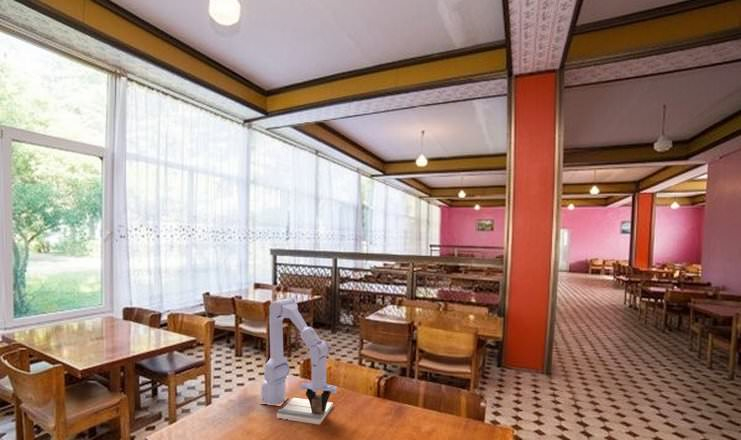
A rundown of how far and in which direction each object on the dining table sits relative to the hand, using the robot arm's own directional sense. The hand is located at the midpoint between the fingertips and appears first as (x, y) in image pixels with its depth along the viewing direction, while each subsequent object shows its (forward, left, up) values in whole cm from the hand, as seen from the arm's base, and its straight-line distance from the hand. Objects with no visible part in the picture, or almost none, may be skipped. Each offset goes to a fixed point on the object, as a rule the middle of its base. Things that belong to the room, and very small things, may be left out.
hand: (318, 409), depth 131 cm
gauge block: (0, 0, -1) cm, 1 cm away
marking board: (-6, +2, -3) cm, 7 cm away
